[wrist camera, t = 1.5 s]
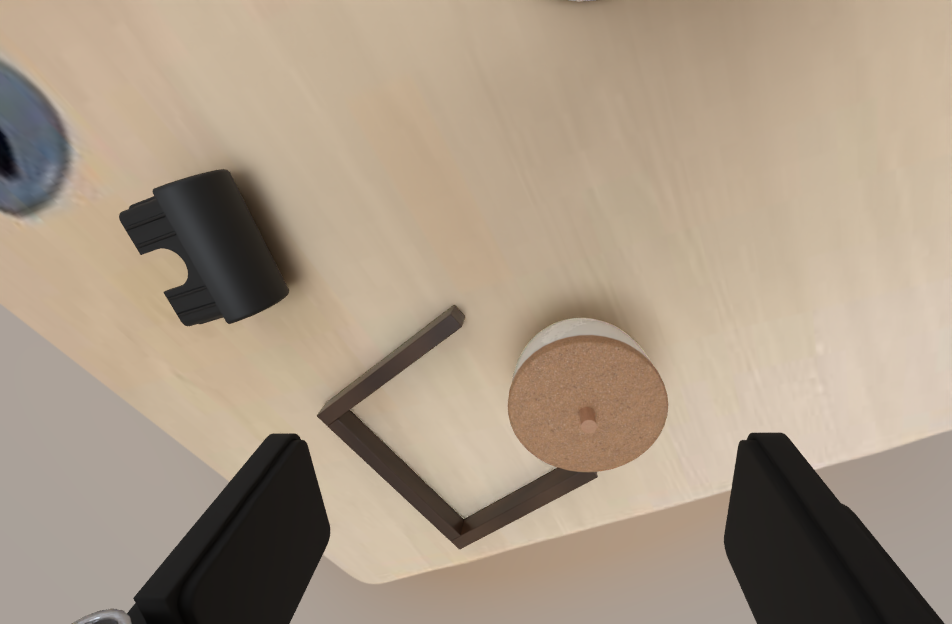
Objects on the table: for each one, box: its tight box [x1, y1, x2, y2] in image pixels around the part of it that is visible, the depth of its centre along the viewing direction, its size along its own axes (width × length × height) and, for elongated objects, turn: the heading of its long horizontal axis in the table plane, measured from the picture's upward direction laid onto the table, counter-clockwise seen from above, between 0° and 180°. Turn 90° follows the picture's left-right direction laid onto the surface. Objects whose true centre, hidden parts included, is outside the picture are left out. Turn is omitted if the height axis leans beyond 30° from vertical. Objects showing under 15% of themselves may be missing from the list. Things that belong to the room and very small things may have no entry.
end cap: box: [119, 169, 289, 326], centre depth 35 cm, size 10×7×7 cm
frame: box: [317, 305, 598, 549], centre depth 42 cm, size 16×20×2 cm
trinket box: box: [508, 318, 668, 472], centre depth 34 cm, size 11×11×9 cm
